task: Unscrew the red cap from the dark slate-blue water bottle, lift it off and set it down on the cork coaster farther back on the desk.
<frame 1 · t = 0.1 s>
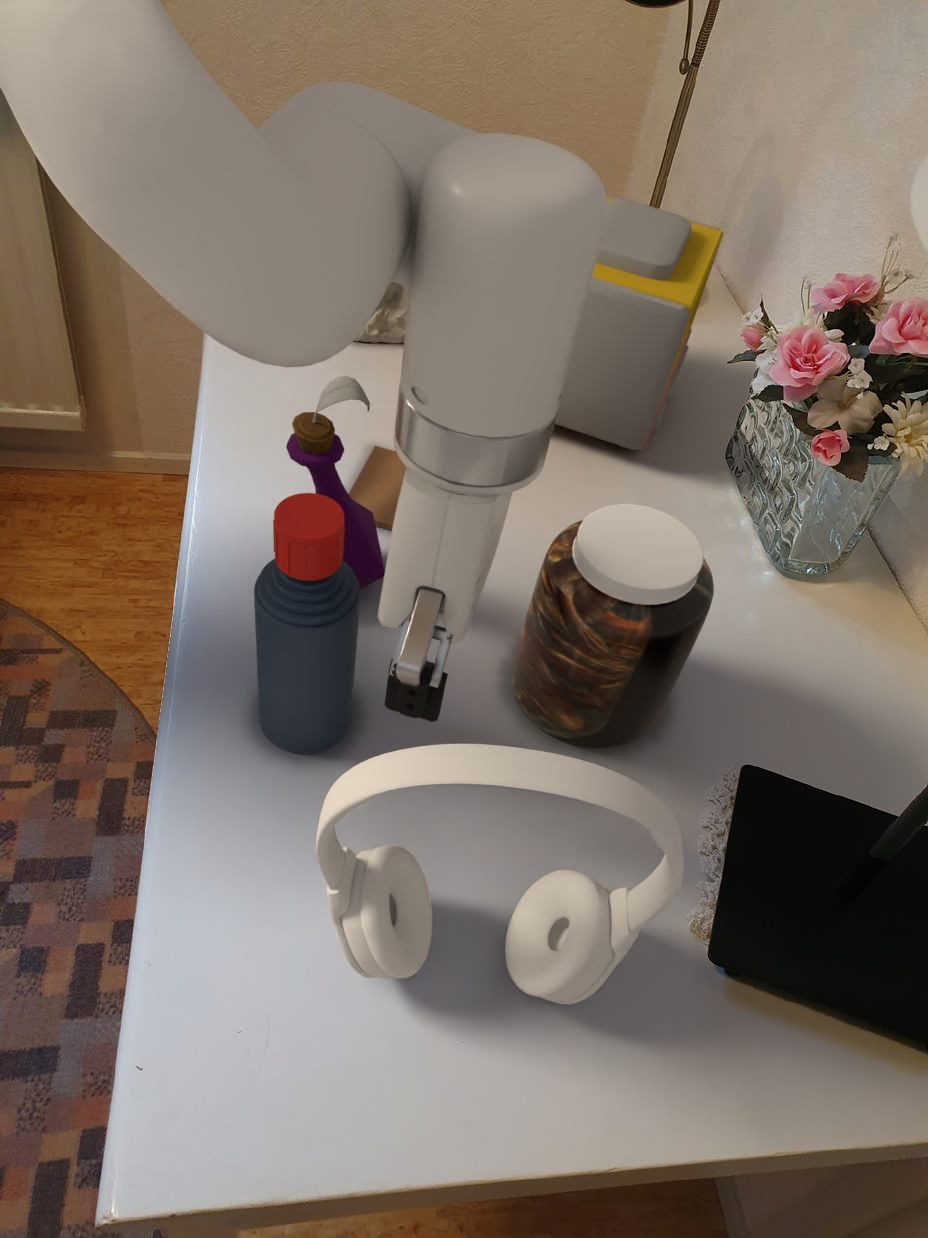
hand: (432, 651, 57), 11 cm above the table, tool pointing down, fingers open, 9 cm apart
cap: (309, 520, 52), point 19 cm above the table, screwed on, not yet turned
beige rough towered piece: (375, 308, 105), on the table
headphones: (464, 951, 56), on the table
water bottle: (305, 716, 66), on the table
coaster: (410, 496, 83), on the table
perfume bottle: (330, 575, 76), on the table
alarm clock: (588, 399, 98), on the table
jar: (586, 688, 71), on the table
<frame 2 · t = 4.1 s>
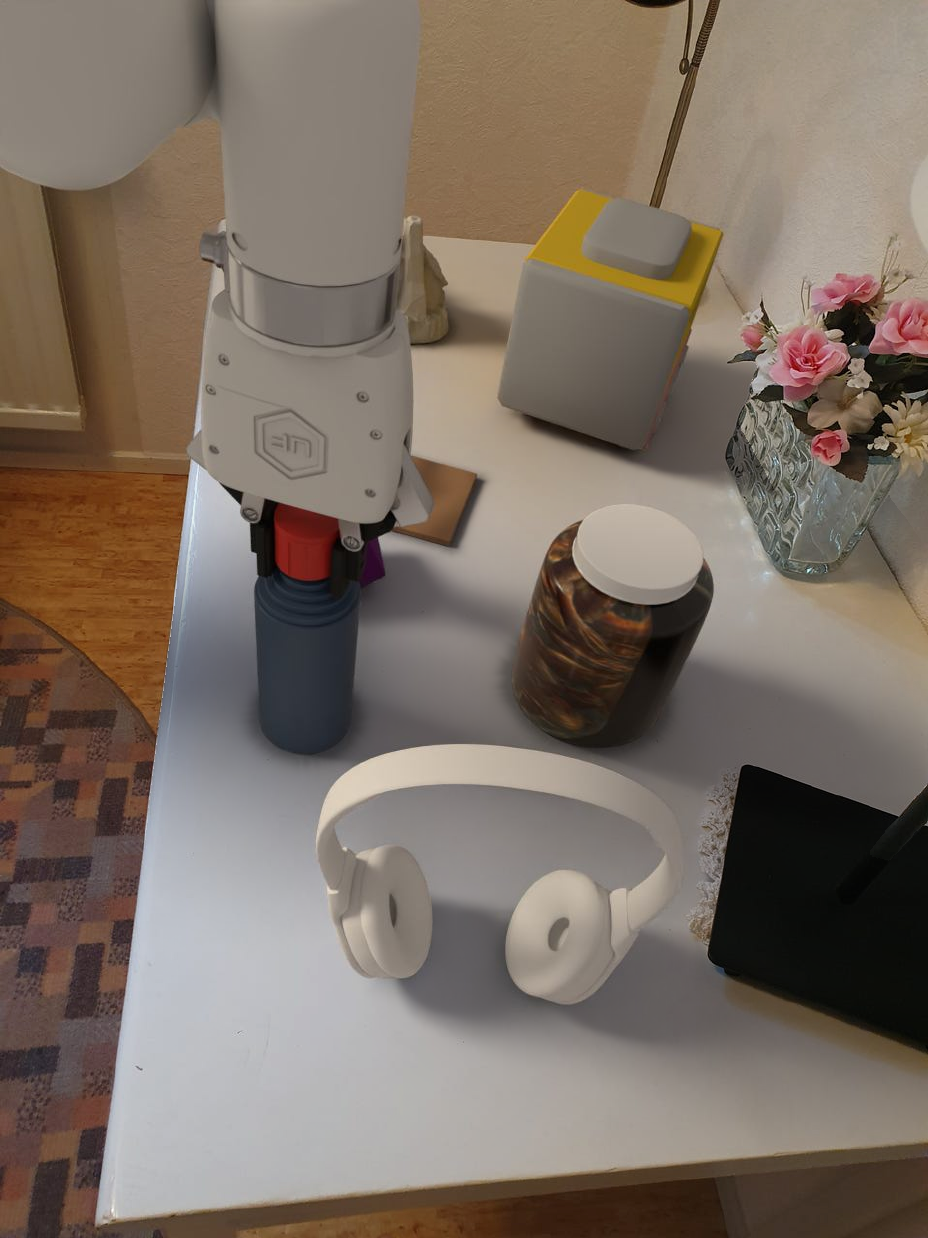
hand: (308, 569, 55), 15 cm above the table, tool pointing down, fingers closed on cap, 3 cm apart
cap: (309, 520, 52), point 19 cm above the table, screwed on, not yet turned, touching gripper
water bottle: (305, 716, 66), on the table, touching gripper
everything else where it was.
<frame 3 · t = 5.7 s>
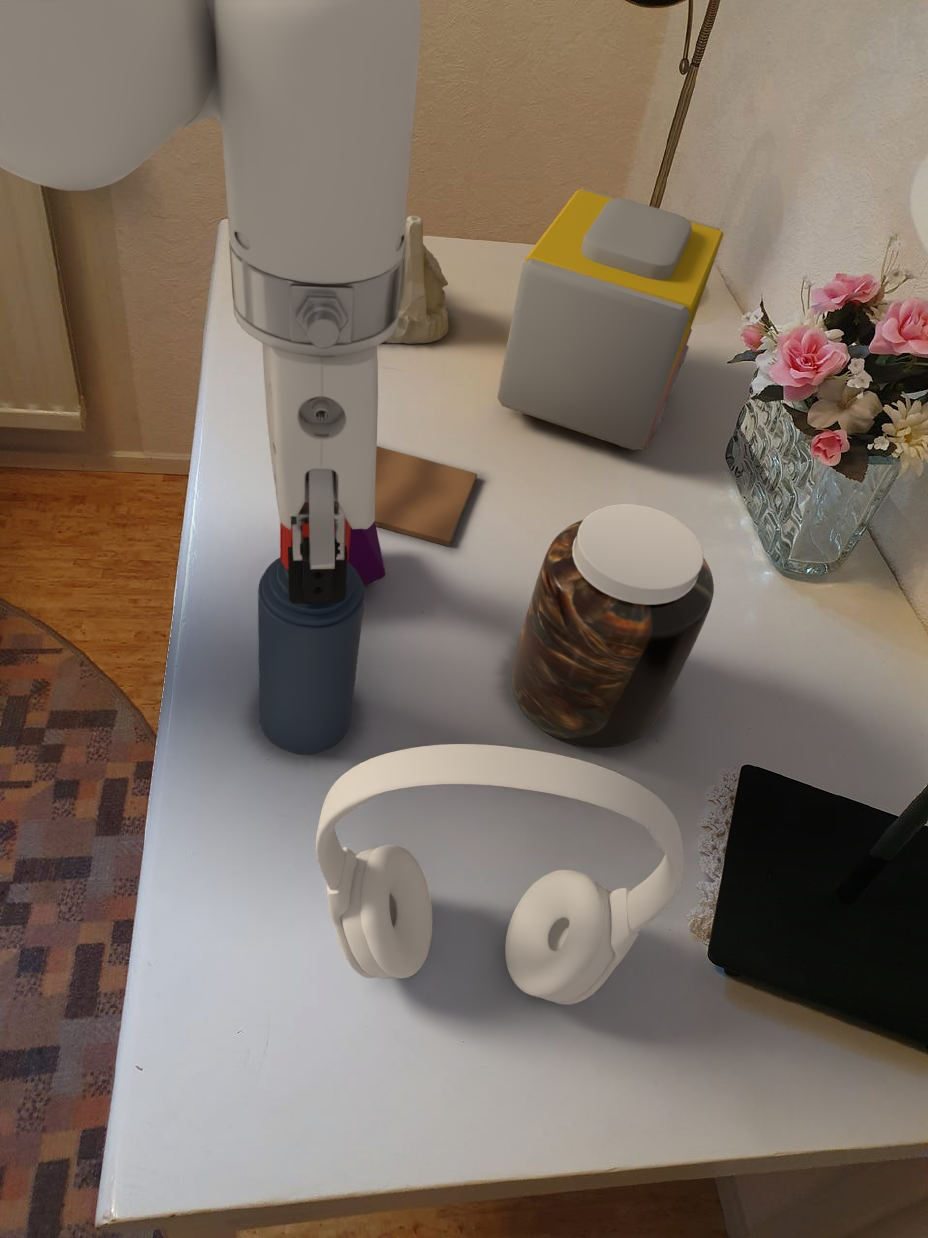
hand: (315, 569, 55), 15 cm above the table, tool pointing down, fingers closed on cap, 3 cm apart
cap: (315, 519, 52), point 19 cm above the table, turned 113° so far, risen 0.1 cm, still on its thread, touching gripper
everything else where it was.
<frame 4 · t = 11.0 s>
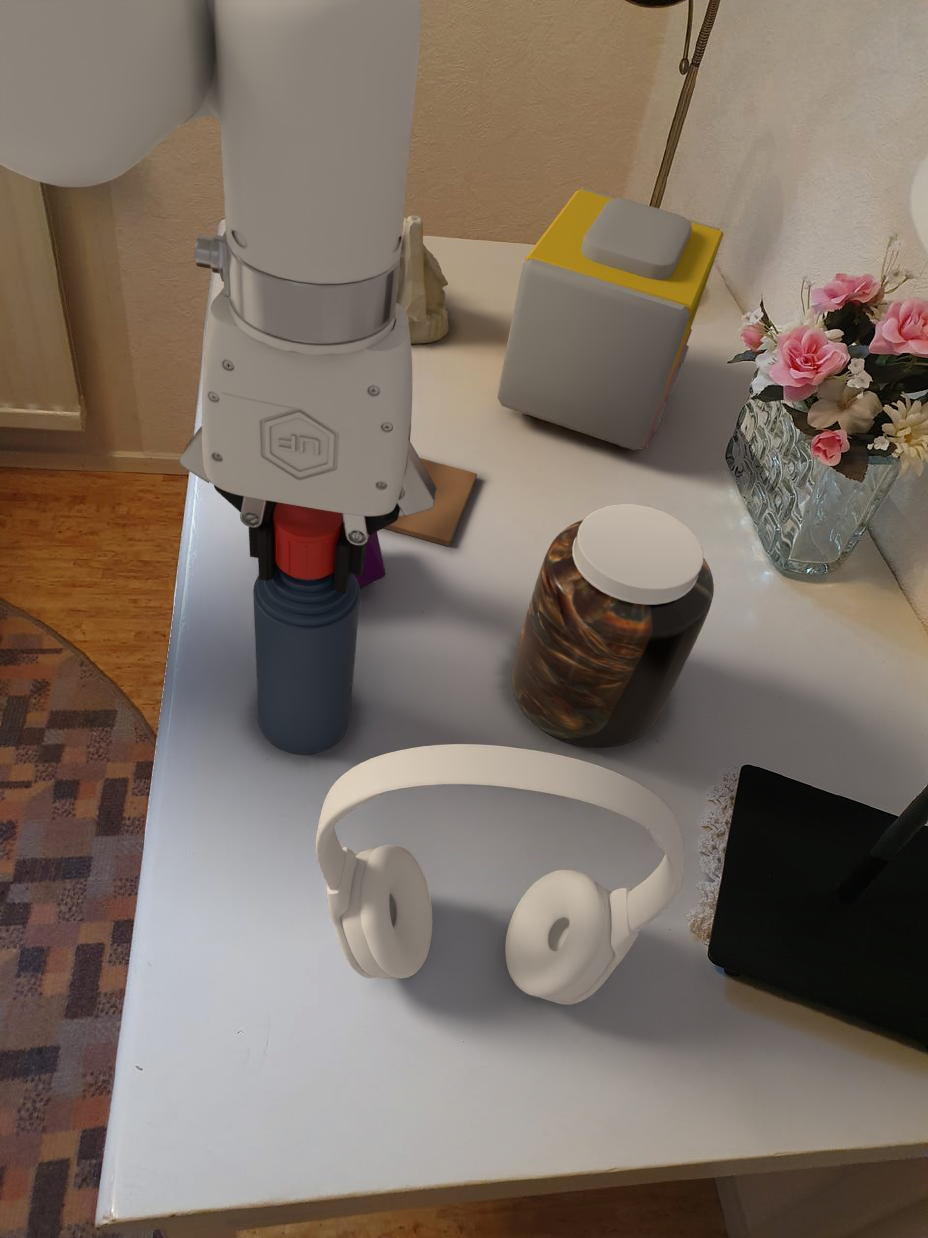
hand: (308, 568, 55), 15 cm above the table, tool pointing down, fingers closed on cap, 3 cm apart
cap: (308, 519, 52), point 19 cm above the table, turned 122° so far, risen 0.1 cm, still on its thread, touching gripper
water bottle: (304, 716, 66), on the table
everything else where it was.
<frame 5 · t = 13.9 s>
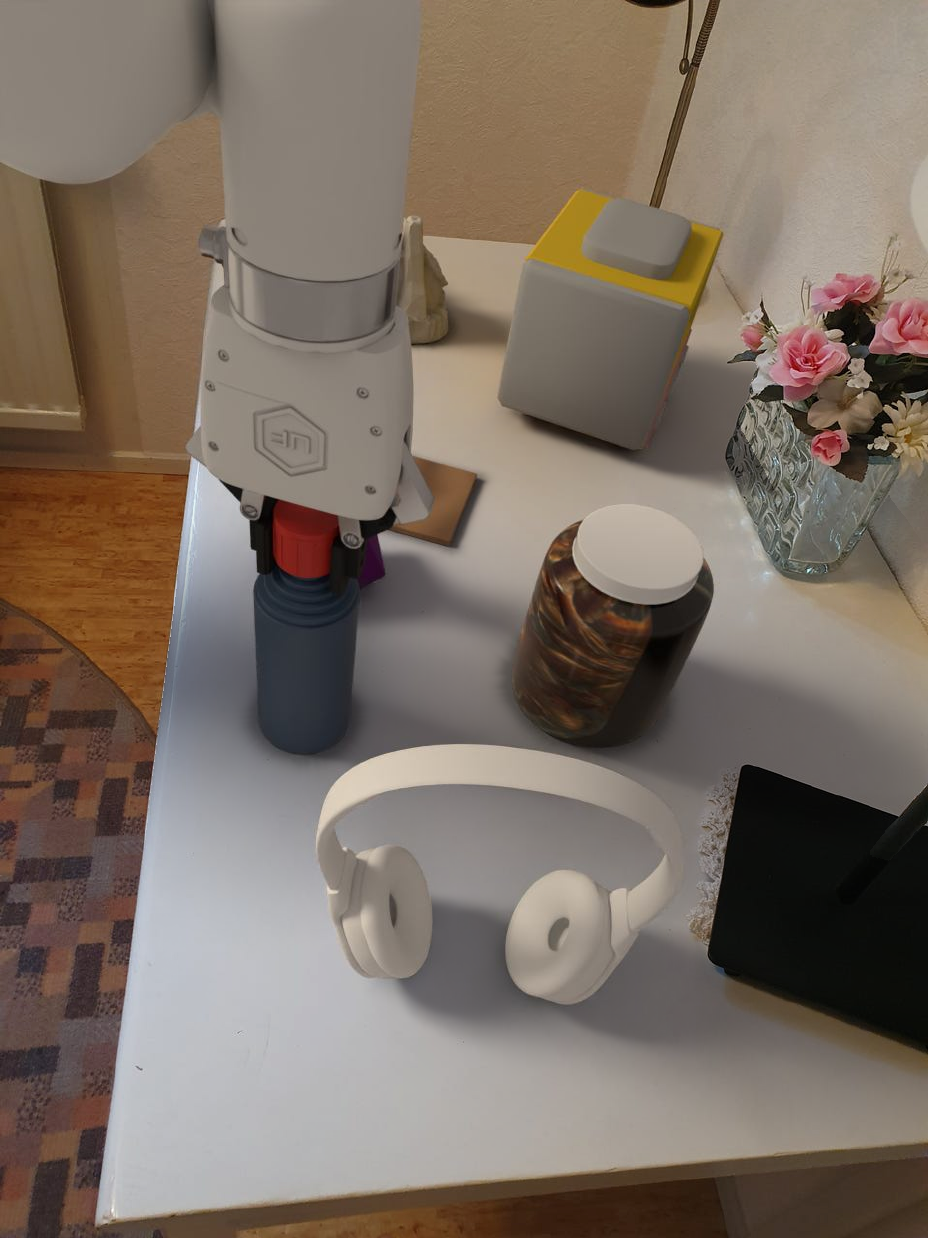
hand: (308, 567, 55), 15 cm above the table, tool pointing down, fingers closed on cap, 3 cm apart
cap: (308, 517, 52), point 19 cm above the table, turned 226° so far, risen 0.2 cm, still on its thread, touching gripper
everything else where it was.
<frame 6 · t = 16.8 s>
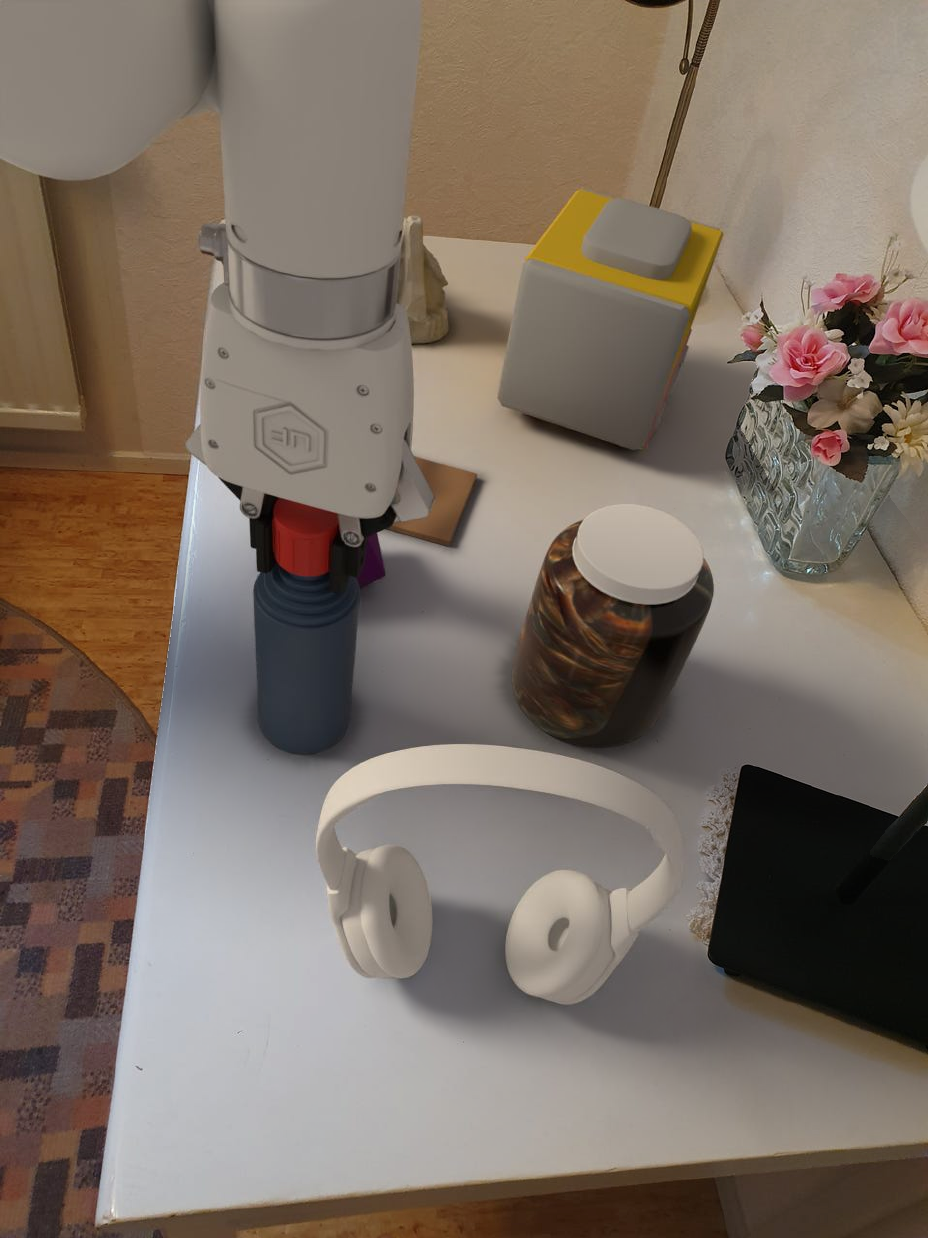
hand: (308, 565, 55), 15 cm above the table, tool pointing down, fingers closed on cap, 3 cm apart
cap: (308, 515, 52), point 19 cm above the table, turned 339° so far, risen 0.4 cm, still on its thread, touching gripper
everything else where it was.
when the fingers open (2 cm above the table, at t = 24.9 s): cap drops 2 cm, resting on coaster.
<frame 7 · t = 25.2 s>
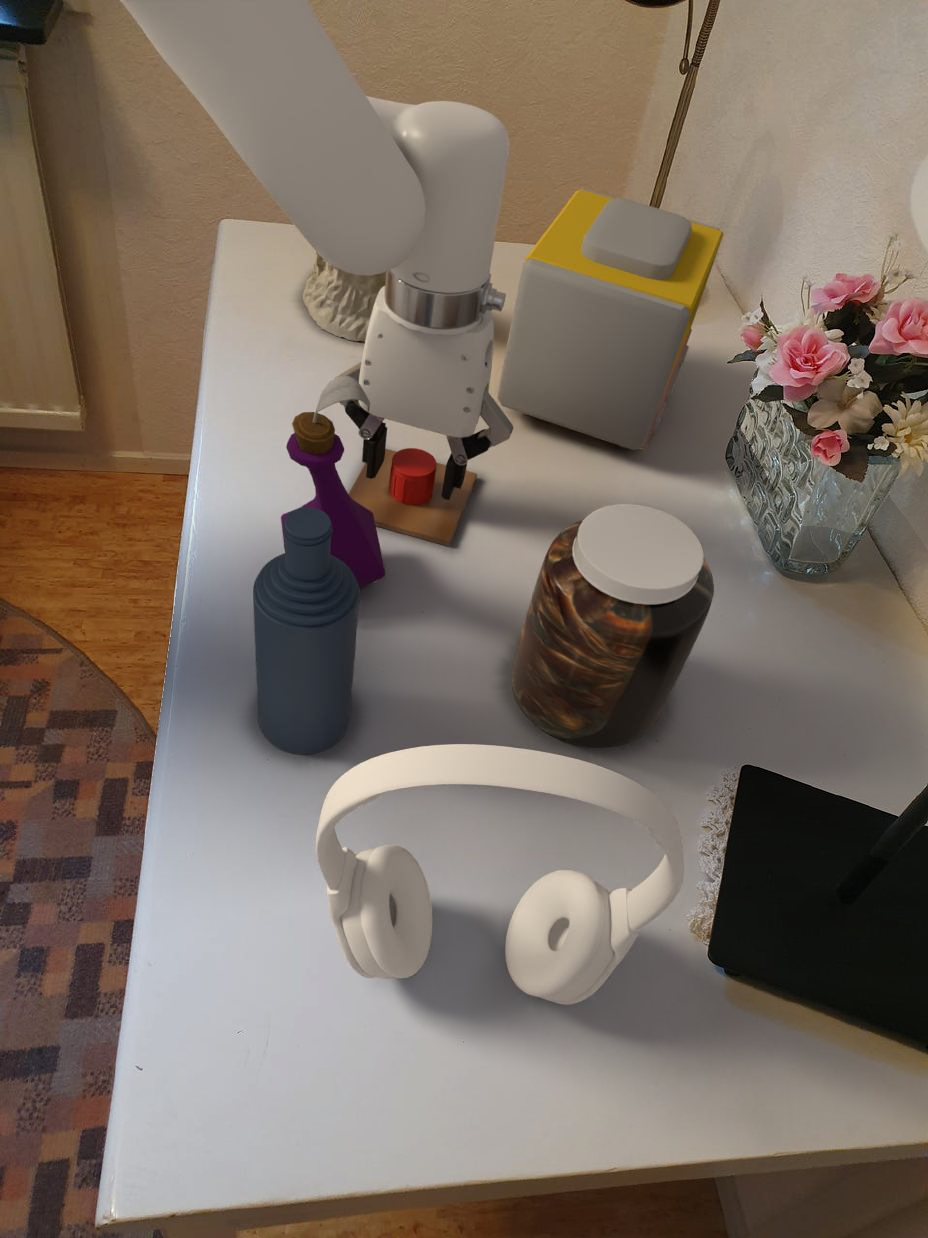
hand: (412, 478, 82), 2 cm above the table, tool pointing down, fingers open, 6 cm apart
cap: (413, 465, 81), point 3 cm above the table, off its thread, touching coaster
everything else where it was.
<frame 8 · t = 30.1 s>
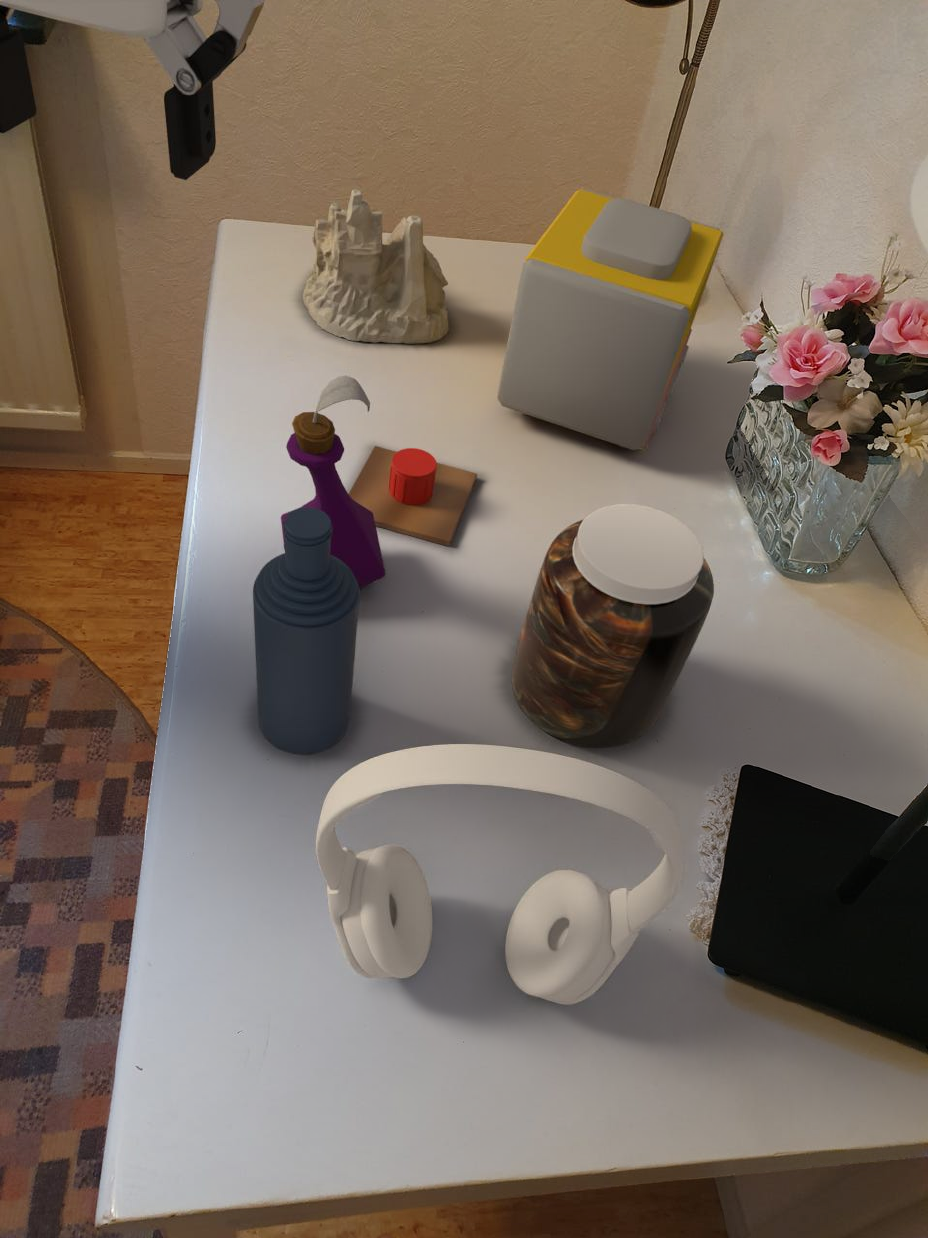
hand: (102, 146, 47), 33 cm above the table, tool pointing down, fingers open, 9 cm apart
nothing on the table moved.
at the end: cap inside the target area on the coaster (0.0 cm from its centre), point 3.5 cm above the coaster's base; cap point 3.5 cm above the table; the gripper is holding nothing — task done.
